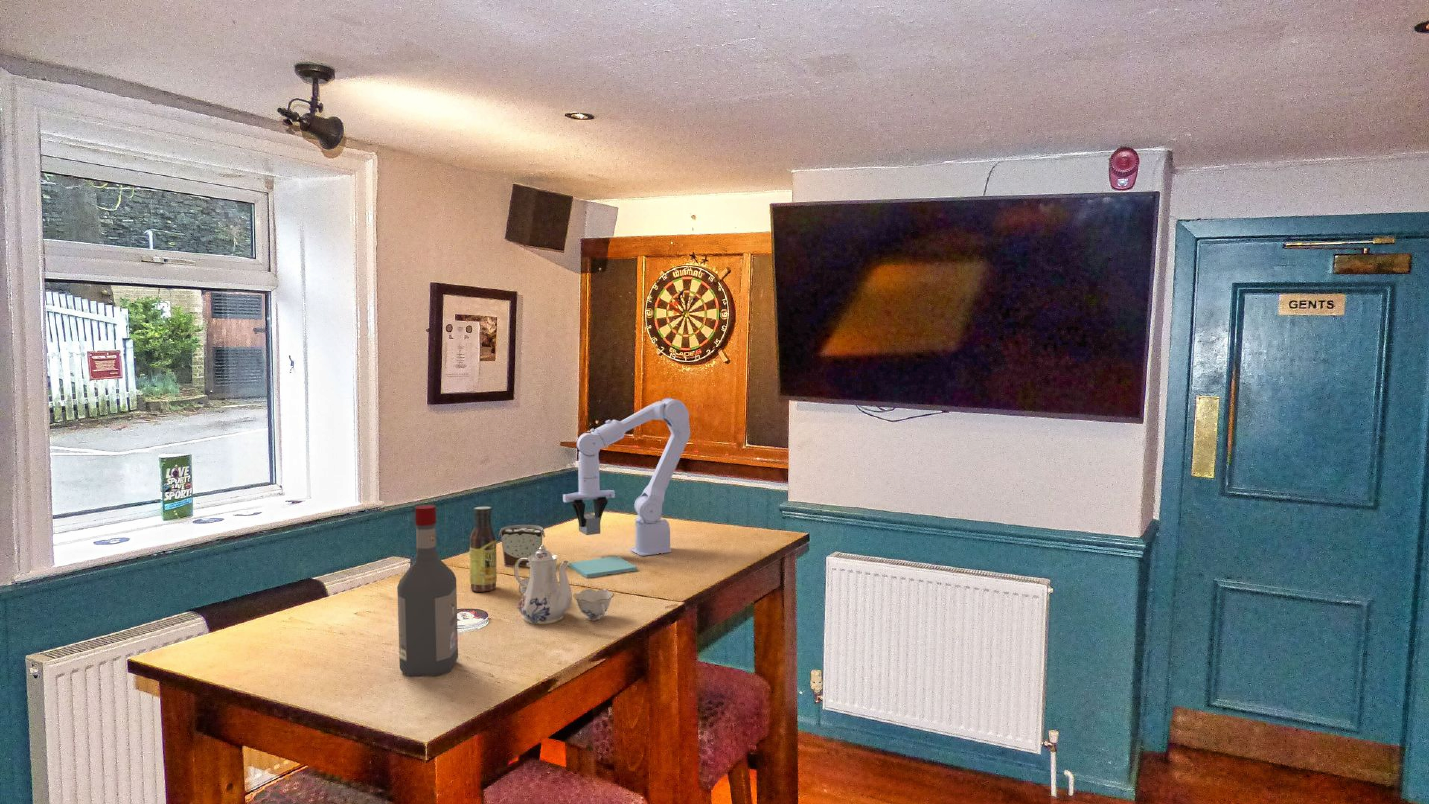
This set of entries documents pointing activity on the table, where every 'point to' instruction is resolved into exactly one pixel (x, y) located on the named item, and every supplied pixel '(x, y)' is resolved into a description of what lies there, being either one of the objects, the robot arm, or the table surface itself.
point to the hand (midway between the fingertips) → (589, 525)
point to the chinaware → (554, 592)
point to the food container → (520, 543)
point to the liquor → (427, 606)
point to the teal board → (602, 566)
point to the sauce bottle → (483, 552)
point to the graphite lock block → (590, 525)
